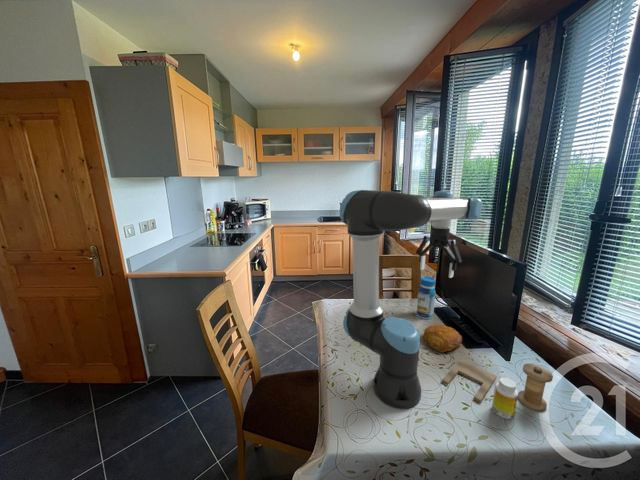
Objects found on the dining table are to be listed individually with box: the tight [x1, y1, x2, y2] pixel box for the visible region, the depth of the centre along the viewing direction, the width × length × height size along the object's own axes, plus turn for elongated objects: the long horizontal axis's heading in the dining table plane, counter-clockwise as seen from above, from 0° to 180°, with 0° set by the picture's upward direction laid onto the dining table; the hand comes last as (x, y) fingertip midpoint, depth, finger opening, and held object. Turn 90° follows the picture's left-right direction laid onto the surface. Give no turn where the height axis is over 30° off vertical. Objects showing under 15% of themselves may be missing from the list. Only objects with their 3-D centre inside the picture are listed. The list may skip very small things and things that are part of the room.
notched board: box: [441, 359, 497, 404], centre depth 91 cm, size 16×12×1 cm
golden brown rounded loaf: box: [422, 324, 463, 353], centre depth 113 cm, size 14×16×8 cm
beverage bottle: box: [416, 276, 437, 320], centre depth 134 cm, size 8×8×20 cm
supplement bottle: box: [491, 377, 519, 420], centre depth 78 cm, size 6×6×10 cm
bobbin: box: [517, 362, 554, 412], centre depth 81 cm, size 7×7×12 cm
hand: (435, 273), depth 120 cm, fingers open, 13 cm apart
